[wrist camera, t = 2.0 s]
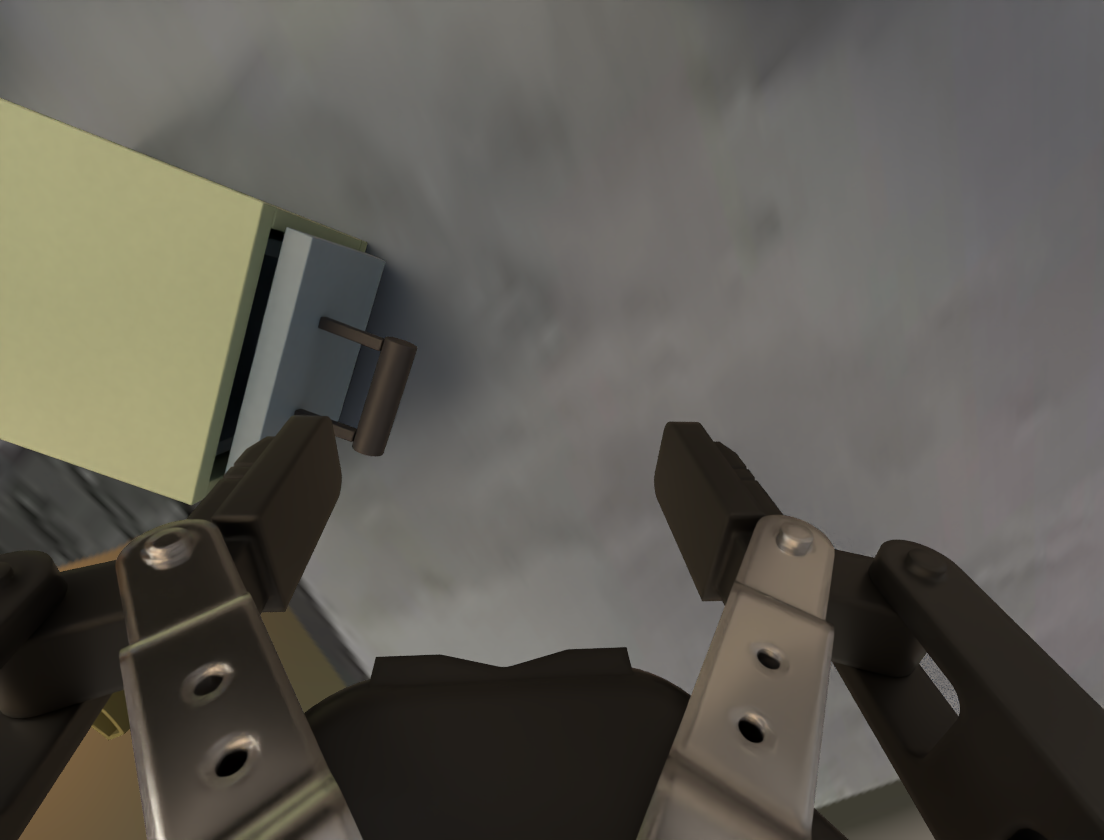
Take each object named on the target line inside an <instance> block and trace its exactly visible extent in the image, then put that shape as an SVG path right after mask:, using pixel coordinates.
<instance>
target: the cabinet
mask: <svg viewBox="0 0 1104 840" xmlns="http://www.w3.org/2000/svg"><path fill="white" fill-rule="evenodd" d="M286 227H289V228H292V229H295V230H298V231H301V232H304V233H307V234H310V235H313V236H316V237H319V238H322V239H325V240H328V241H331V242H334V243H337V244H340V245H343V246H346V247H349V248H352V249H355V250H358V251H361V252H364V253H365V250H366V247H367V242H365V241H362V240H360V239H357V238H355V237H352V236H350V235H347V234H345V233H342V232H340V231H337V230H335V229H332V228H330V227H327V226H324V225H322V224H319V223H317V222H314V221H312V220H309V219H307V218H304V217H302V216H299V215H297V214H294V213H292V212H289V211H286V210H284V209H281V208H279V207H276V206H274V205H271V204H269V203H266V202H264V201H261V200H259V199H256V198H254V197H251V196H248V195H246V194H243V193H241V192H238V191H236V190H233V189H231V188H228V187H226V186H223V185H221V184H218V183H216V182H213V181H210V180H208V179H205V178H203V177H200V176H198V175H195V174H193V173H190V172H188V171H185V170H183V169H180V168H178V167H175V166H172V165H170V164H167V163H165V162H162V161H160V160H157V159H155V158H152V157H150V156H147V155H145V154H142V153H140V152H137V151H134V150H132V149H129V148H127V147H124V146H122V145H119V144H117V143H114V142H112V141H109V140H106V139H104V138H101V137H99V136H96V135H94V134H91V133H89V132H86V131H84V130H81V129H78V128H76V127H73V126H71V125H68V124H66V123H63V122H61V121H58V120H55V119H53V118H50V117H48V116H45V115H43V114H40V113H38V112H35V111H33V110H30V109H27V108H25V107H22V106H20V105H17V104H15V103H12V102H10V101H7V100H5V99H2V98H0V439H2V440H5V441H8V442H11V443H14V444H17V445H19V446H22V447H25V448H28V449H31V450H34V451H37V452H40V453H43V454H45V455H48V456H51V457H54V458H57V459H60V460H63V461H66V462H69V463H71V464H74V465H77V466H80V467H83V468H86V469H89V470H92V471H95V472H97V473H100V474H103V475H106V476H109V477H112V478H115V479H118V480H121V481H123V482H126V483H129V484H132V485H135V486H138V487H141V488H144V489H147V490H149V491H152V492H155V493H158V494H161V495H164V496H167V497H170V498H173V499H176V500H178V501H181V502H184V503H187V504H190V505H193V504H195V503H197V502H199V501H201V500H202V499H204V498H205V497H206V496H207V494H208V493H209V492H210V491H211V490H212V489H213V487H214V486H215V485H216V484H217V483H218V482H219V480H220V479H223V476H224V474H225V470H226V466H227V462H228V458H229V454H230V450H229V451H226V452H224V453H221V454H219V455H216V451H217V447H218V443H219V439H220V435H221V431H222V427H223V423H224V419H225V415H226V410H227V406H228V402H229V398H230V394H231V390H232V386H233V382H234V378H235V373H236V369H237V365H238V361H239V357H240V353H241V349H242V345H243V341H244V337H245V332H246V328H247V324H248V320H249V316H250V312H251V308H252V304H253V300H254V296H255V291H256V287H257V283H258V279H259V275H260V271H261V267H262V263H263V259H264V254H265V250H266V246H267V242H268V238H269V234H270V230H271V231H273V232H276V233H279V234H281V235H284V234H285V230H286Z"/></svg>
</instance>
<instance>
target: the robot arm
mask: <svg viewBox="0 0 1104 840" xmlns="http://www.w3.org/2000/svg"><path fill="white" fill-rule="evenodd" d="M341 483H342V475H341V467H340V462H339V456H338V451H337V445H336V440H335V434H334V428H333V424H332V421H331V419H330V417H328V416H304V415H294V416H291V417H290V418H289V419H288V421H287V422H286V423H285V424H284V426H283V427H282V428H281V430H280V431H279V432H278V433H277V435H276V436H267V437H265V438H263V439H262V440H260V441H258V442H257V443H255V444H253V445H252V446H250V447H249V448H247V449H246V450H245V451H244V452H243V453H242V454H241V456H240V457H239V458H238V459H237V460H236V462H235V463H234V467H230V469H229V470H228V471H227V472H226V473H225V474H224V476H223V479H220V480H219V482H218V483H217V484H216V485H215V486H214V487H213V489H212V490H211V491H210V492H209V493H208V494H207V496H206V497H205V498H204V499H203V500H202V502H201V503H200V504H199V505H198V506H197V507H196V509H195V510H194V511H193V512H192V513H191V514H190V516H189V517H188V518H187V519H186V520H180V521H175V522H171V523H168V524H164V525H161V526H159V527H156V528H154V529H152V530H150V531H147V532H145V533H144V534H142V535H140V536H139V537H137V538H136V539H134V540H133V541H131V542H130V543H129V544H128V545H127V546H126V547H125V548H124V549H123V550H122V551H121V553H120V554H119V556H118V557H117V560H114V561H109V562H105V563H100V564H95V565H91V566H86V567H81V568H77V569H72V570H67V571H63V572H59V570H58V568H57V567H56V565H55V563H54V562H53V560H52V558H51V557H50V556H49V555H48V554H46V553H43V552H40V551H16V552H11V553H5V554H1V555H0V840H18V839H19V837H20V835H21V834H22V832H23V831H24V829H25V828H26V826H27V825H28V823H29V822H30V820H31V819H32V817H33V815H34V814H35V812H36V811H37V809H38V808H39V806H40V805H41V803H42V802H43V800H44V799H45V797H46V795H47V793H48V792H49V791H50V789H51V788H52V786H53V785H54V783H55V782H56V780H57V778H58V777H59V775H60V774H61V772H62V771H63V769H64V768H65V766H66V764H67V763H68V761H69V760H70V758H71V757H72V755H73V754H74V752H75V751H76V749H77V747H78V746H79V745H80V743H81V741H82V740H83V738H84V737H85V735H86V734H87V732H88V731H89V729H90V728H91V726H92V725H93V723H94V721H95V720H96V718H97V717H98V715H99V714H100V712H101V711H102V709H103V708H104V706H105V704H106V703H107V701H108V700H109V698H110V697H111V695H112V694H113V693H115V692H118V691H121V690H124V692H125V698H126V705H127V711H128V718H129V724H130V731H131V737H132V743H133V750H134V756H135V763H136V769H137V776H138V782H139V788H140V794H141V802H142V808H143V814H144V820H145V827H146V834H147V840H848V839H847V838H846V837H845V836H844V835H843V834H842V833H841V832H840V831H839V830H838V829H837V828H835V827H834V826H833V825H832V824H831V823H830V822H829V821H828V820H827V819H826V818H825V817H823V816H822V815H821V814H820V813H819V812H818V811H817V810H816V809H815V808H814V802H815V794H816V785H817V777H818V768H819V760H820V751H821V742H822V734H823V725H824V717H825V708H826V700H827V691H828V682H829V674H830V665H831V662H833V664H834V666H835V667H836V669H837V671H838V672H839V674H840V676H841V678H842V679H843V681H844V683H845V685H846V686H847V688H848V690H849V691H850V693H851V695H852V697H853V698H854V700H855V702H856V704H857V705H858V707H859V709H860V710H861V712H862V714H863V716H864V717H865V719H866V721H867V723H868V724H869V726H870V728H871V729H872V731H873V733H874V735H875V736H876V738H877V740H878V742H879V743H880V745H881V747H882V748H883V750H884V752H885V754H886V755H887V757H888V759H889V761H890V762H891V764H892V766H893V767H894V769H895V771H896V773H897V774H898V776H899V778H900V780H901V781H902V783H903V785H904V786H905V788H906V790H907V792H908V793H909V795H910V797H911V798H912V800H913V802H914V804H915V805H916V807H917V809H918V811H919V812H920V814H921V816H922V817H923V819H924V821H925V823H926V824H927V826H928V828H929V830H930V831H931V833H932V835H933V836H934V838H935V840H1104V709H1103V708H1102V707H1101V706H1100V705H1099V704H1098V703H1097V702H1096V701H1095V700H1094V699H1093V698H1092V697H1091V696H1090V695H1089V694H1088V693H1086V692H1085V691H1084V690H1083V689H1082V688H1081V687H1080V686H1079V685H1078V684H1077V683H1076V682H1075V681H1074V680H1073V679H1072V678H1071V677H1070V676H1069V675H1068V674H1067V673H1066V672H1065V671H1064V670H1063V669H1062V668H1061V667H1060V666H1059V665H1058V664H1057V663H1056V662H1055V661H1054V660H1053V659H1052V658H1051V657H1050V656H1049V655H1048V654H1047V653H1046V652H1045V651H1044V650H1043V649H1042V648H1041V647H1040V646H1039V645H1038V644H1037V643H1036V642H1035V641H1034V640H1033V639H1032V638H1031V637H1030V636H1029V635H1028V634H1027V633H1026V632H1025V631H1024V630H1023V629H1022V628H1021V627H1019V626H1018V625H1017V624H1016V623H1015V622H1014V621H1013V620H1012V619H1011V618H1010V617H1009V616H1008V615H1007V614H1006V613H1005V612H1004V611H1003V610H1002V609H1001V608H1000V607H999V606H998V605H997V604H996V603H995V602H994V601H993V600H992V599H991V598H990V597H989V596H988V595H987V594H986V593H985V592H984V591H983V590H982V589H981V588H980V587H979V586H978V585H977V584H976V583H975V582H974V581H973V580H972V579H971V578H970V577H969V576H968V575H967V574H966V573H965V572H964V571H963V570H962V569H961V568H960V567H958V566H957V565H956V564H955V563H954V562H953V561H951V560H950V559H949V558H947V557H945V556H944V555H942V554H941V553H939V552H937V551H935V550H933V549H931V548H929V547H926V546H924V545H921V544H918V543H915V542H911V541H906V540H890V541H886V542H884V543H883V544H882V545H881V547H880V549H879V551H878V552H877V554H876V556H875V558H873V557H868V556H863V555H859V554H854V553H849V552H845V551H840V550H836V549H834V547H833V545H832V543H831V541H830V540H829V539H828V538H827V536H826V535H825V534H824V533H822V532H821V531H820V530H819V529H817V528H816V527H814V526H813V525H811V524H809V523H807V522H805V521H803V520H800V519H798V518H794V517H791V516H786V515H783V514H782V513H781V511H780V510H779V509H778V507H777V506H776V505H775V503H774V502H773V501H772V499H771V498H770V497H769V496H768V494H767V493H766V492H765V490H764V489H763V488H762V486H761V485H760V484H759V482H758V481H755V477H754V476H753V475H752V473H751V472H750V471H749V469H746V465H745V464H744V463H743V462H742V460H741V459H740V458H739V456H738V455H737V454H736V453H735V452H734V451H732V450H731V449H729V448H728V447H726V446H725V445H723V444H722V443H721V442H713V440H712V439H711V437H710V436H709V435H708V433H707V432H706V430H705V429H704V428H703V426H702V425H701V424H700V423H699V422H668V423H667V424H666V426H665V428H664V432H663V437H662V441H661V446H660V451H659V456H658V460H657V465H656V470H655V476H654V487H655V494H656V497H657V500H658V502H659V504H660V506H661V509H662V511H663V513H664V515H665V518H666V520H667V522H668V525H669V527H670V529H671V531H672V534H673V536H674V538H675V540H676V543H677V545H678V547H679V549H680V552H681V554H682V556H683V559H684V561H685V563H686V565H687V568H688V570H689V572H690V574H691V577H692V579H693V581H694V584H695V586H696V588H697V590H698V593H699V595H700V597H701V599H702V601H723V603H724V605H725V608H724V610H723V613H722V615H721V618H720V621H719V623H718V626H717V629H716V631H715V634H714V637H713V639H712V642H711V645H710V647H709V650H708V652H707V655H706V658H705V660H704V663H703V666H702V668H701V671H700V674H699V676H698V679H697V681H696V684H695V687H694V689H693V692H692V695H689V694H688V693H687V692H685V691H684V690H682V689H681V688H679V687H678V686H676V685H674V684H673V683H671V682H669V681H668V680H665V679H663V678H661V677H659V676H657V675H654V674H652V673H649V672H646V671H643V670H640V669H636V668H631V664H630V660H629V656H628V652H627V648H626V647H620V648H594V649H568V650H564V651H561V652H557V653H554V654H551V655H547V656H544V657H540V658H537V659H534V660H530V661H527V662H523V663H520V664H517V665H513V666H509V667H498V666H493V665H488V664H483V663H479V662H474V661H469V660H464V659H459V658H455V657H450V656H445V655H415V656H389V657H376V659H375V663H374V667H373V671H372V675H371V679H368V680H365V681H362V682H359V683H356V684H354V685H351V686H349V687H346V688H344V689H343V690H340V691H338V692H336V693H335V694H333V695H331V696H329V697H327V698H326V699H324V700H322V701H321V702H319V703H318V704H316V705H315V706H313V707H312V708H310V709H309V710H308V711H307V712H305V713H304V712H303V710H302V708H301V706H300V703H299V701H298V699H297V697H296V694H295V692H294V690H293V688H292V686H291V683H290V681H289V679H288V677H287V674H286V672H285V670H284V668H283V665H282V664H281V661H280V659H279V657H278V654H277V652H276V650H275V648H274V645H273V643H272V641H271V639H270V637H269V635H268V632H267V630H266V627H265V625H264V623H263V621H262V619H261V616H260V614H261V613H262V612H285V611H286V609H287V607H288V605H289V602H290V600H291V598H292V596H293V594H294V592H295V590H296V587H297V585H298V583H299V581H300V579H301V577H302V575H303V573H304V570H305V568H306V566H307V564H308V562H309V560H310V558H311V555H312V553H313V551H314V549H315V547H316V545H317V543H318V541H319V538H320V536H321V534H322V532H323V530H324V528H325V526H326V523H327V521H328V519H329V517H330V515H331V513H332V511H333V509H334V506H335V504H336V502H337V500H338V498H339V495H340V491H341ZM926 653H928V654H929V656H930V657H931V658H932V659H933V661H934V662H935V663H936V665H937V666H938V667H939V668H940V670H941V671H942V672H943V674H944V675H945V676H946V677H947V679H948V680H949V681H950V683H951V684H952V685H953V687H954V689H955V691H956V693H957V696H958V699H959V703H960V714H959V717H958V715H957V714H956V713H955V711H954V710H953V708H952V707H951V706H950V704H949V703H948V702H947V700H946V699H945V698H944V696H943V695H942V694H941V692H940V691H939V690H938V688H937V687H936V686H935V684H934V683H933V682H932V680H931V679H930V678H929V676H928V675H927V674H926V672H925V671H924V670H923V668H922V667H921V666H920V664H919V663H920V661H921V660H922V658H923V657H924V656H925V654H926Z"/></svg>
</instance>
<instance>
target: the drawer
mask: <svg viewBox="0 0 1104 840" xmlns="http://www.w3.org/2000/svg"><path fill="white" fill-rule="evenodd" d="M385 262H386V261H385V260H383V259H380V258H378V257H375V256H373V255H370V254H367V253H364V252H361V251H358V250H355V249H352V248H349V247H346V246H343V245H340V244H337V243H334V242H331V241H328V240H325V239H322V238H319V237H316V236H313V235H310V234H307V233H304V232H301V231H298V230H295V229H292V228H289V227H286V230H285V234H284V235H281V234H279V233H276V232H273V231H271V230H270V234H269V238H268V242H267V246H266V250H265V254H264V259H263V263H262V267H261V271H260V275H259V279H258V283H257V287H256V291H255V296H254V300H253V304H252V308H251V312H250V316H249V320H248V324H247V328H246V332H245V337H244V341H243V345H242V349H241V353H240V357H239V361H238V365H237V369H236V373H235V378H234V382H233V386H232V390H231V394H230V398H229V402H228V406H227V410H226V415H225V419H224V423H223V427H222V431H221V435H220V439H219V443H218V447H217V451H216V455H219V454H221V453H224V452H226V451H229V450H230V454H229V458H228V462H227V466H226V470H225V473H226V472H227V471H228V470H229V469H230V467H234V463H235V462H236V460H237V459H238V458H239V457H240V456H241V454H242V453H243V452H244V451H245V450H246V449H247V448H249V447H250V446H252V445H253V444H255V443H257V442H258V441H260V440H262V439H263V438H265V437H267V436H276V435H277V433H278V432H279V431H280V430H281V428H282V427H283V426H284V424H285V423H286V422H287V421H288V419H289V418H290V417H291V416H294V415H304V416H328V417H330V419H331V421H332V424H333V428H334V434H335V436H337V437H339V438H342V439H345V440H348V441H350V442H352V441H353V444H352V447H353V449H354V450H355V451H357V452H359V453H361V454H364V455H368V456H381V455H382V454H383V453H384V450H385V447H386V444H387V441H388V438H389V435H390V432H391V428H392V425H393V422H394V419H395V416H396V413H397V410H398V407H399V404H400V400H401V397H402V394H403V391H404V388H405V385H406V382H407V379H408V376H409V373H410V369H411V366H412V363H413V360H414V357H415V354H416V351H417V346H415V345H414V344H412V343H410V342H407V341H404V340H402V339H398V338H395V337H389V336H387V337H385V339H384V338H381V337H379V336H376V335H373V334H371V333H368V332H365V330H366V326H367V323H368V320H369V316H370V313H371V309H372V306H373V303H374V299H375V296H376V293H377V289H378V286H379V282H380V279H381V276H382V272H383V269H384V266H385ZM361 344H362V345H364V346H367V347H370V348H372V349H375V350H377V351H381V353H380V356H379V359H378V362H377V366H376V369H375V372H374V376H373V379H372V382H371V385H370V389H369V392H368V395H367V398H366V402H365V405H364V408H363V411H362V415H361V418H360V421H359V425H358V428H357V429H356V428H353V427H350V426H348V425H345V424H342V423H339V422H338V421H339V417H340V414H341V411H342V407H343V404H344V400H345V397H346V394H347V390H348V387H349V384H350V380H351V377H352V373H353V370H354V367H355V363H356V360H357V357H358V353H359V350H360V346H361Z"/></svg>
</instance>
